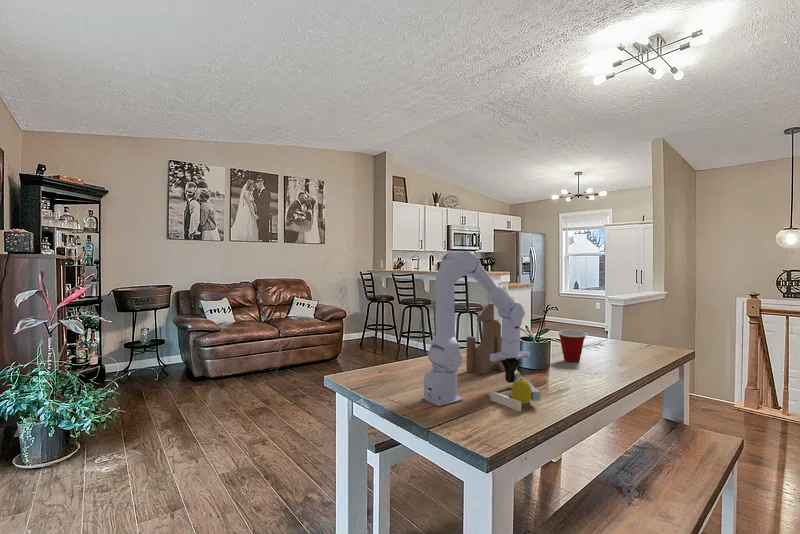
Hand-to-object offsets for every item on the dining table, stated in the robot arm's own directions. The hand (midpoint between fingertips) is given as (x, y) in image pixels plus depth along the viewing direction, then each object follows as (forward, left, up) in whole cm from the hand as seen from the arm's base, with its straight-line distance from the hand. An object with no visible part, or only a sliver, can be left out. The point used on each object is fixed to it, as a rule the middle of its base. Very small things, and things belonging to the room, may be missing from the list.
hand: (509, 381), depth 131 cm
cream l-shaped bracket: (-9, -9, -2) cm, 13 cm away
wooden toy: (+9, +19, -2) cm, 21 cm away
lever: (-2, -7, 0) cm, 8 cm away
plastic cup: (+48, +10, -2) cm, 49 cm away
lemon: (-10, -13, -2) cm, 16 cm away
